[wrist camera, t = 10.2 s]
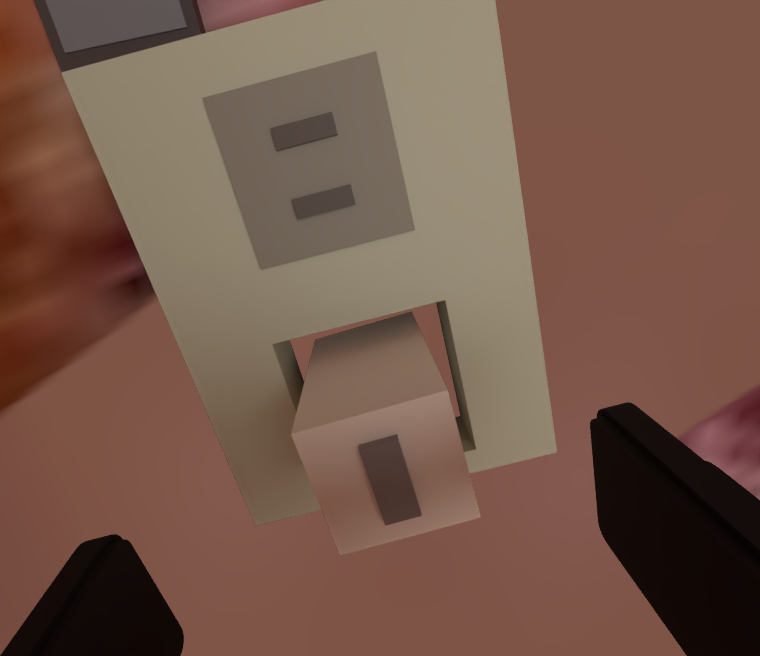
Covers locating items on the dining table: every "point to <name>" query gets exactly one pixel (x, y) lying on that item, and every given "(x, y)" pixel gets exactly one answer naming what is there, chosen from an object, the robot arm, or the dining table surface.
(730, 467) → the dining table surface
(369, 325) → the block
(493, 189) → the outlet board
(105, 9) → the phone
